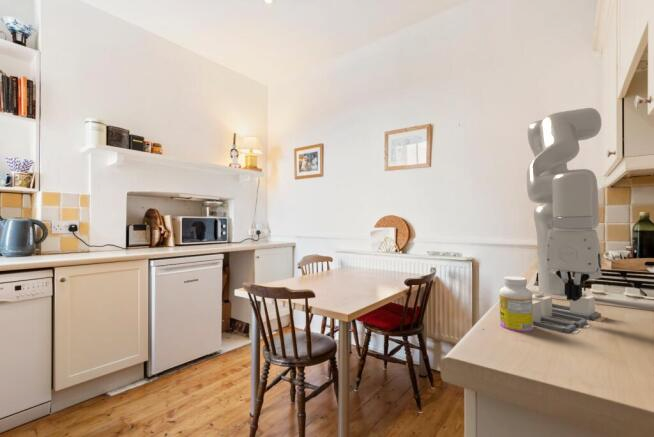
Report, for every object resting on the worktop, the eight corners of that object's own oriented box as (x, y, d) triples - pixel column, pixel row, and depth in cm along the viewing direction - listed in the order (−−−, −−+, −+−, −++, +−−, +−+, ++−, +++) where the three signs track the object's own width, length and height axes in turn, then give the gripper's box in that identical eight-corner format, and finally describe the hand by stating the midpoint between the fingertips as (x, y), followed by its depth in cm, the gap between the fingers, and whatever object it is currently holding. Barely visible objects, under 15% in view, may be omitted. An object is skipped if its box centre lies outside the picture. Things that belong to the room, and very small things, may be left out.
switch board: (544, 308, 93) (543, 285, 93) (610, 321, 80) (609, 295, 80) (504, 323, 81) (503, 296, 81) (574, 341, 68) (573, 310, 68)
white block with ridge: (535, 312, 85) (534, 291, 85) (552, 316, 81) (551, 294, 81) (527, 315, 82) (527, 294, 82) (545, 319, 79) (544, 297, 79)
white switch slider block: (576, 312, 84) (575, 291, 84) (595, 315, 81) (594, 294, 81) (570, 314, 82) (569, 293, 82) (589, 318, 79) (588, 296, 79)
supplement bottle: (502, 325, 79) (501, 274, 79) (533, 330, 75) (532, 276, 75) (498, 333, 73) (497, 278, 74) (532, 339, 70) (531, 281, 70)
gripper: (530, 224, 80) (532, 295, 81) (606, 225, 67) (607, 310, 68) (544, 222, 84) (545, 290, 85) (618, 223, 71) (619, 303, 72)
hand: (573, 299), depth 76 cm, fingers closed
